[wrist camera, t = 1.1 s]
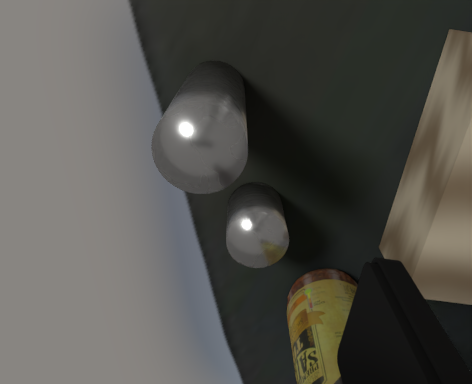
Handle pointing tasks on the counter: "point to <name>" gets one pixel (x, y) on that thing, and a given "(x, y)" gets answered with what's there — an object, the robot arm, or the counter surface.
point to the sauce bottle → (319, 323)
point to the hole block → (439, 185)
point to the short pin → (256, 225)
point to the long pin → (204, 131)
